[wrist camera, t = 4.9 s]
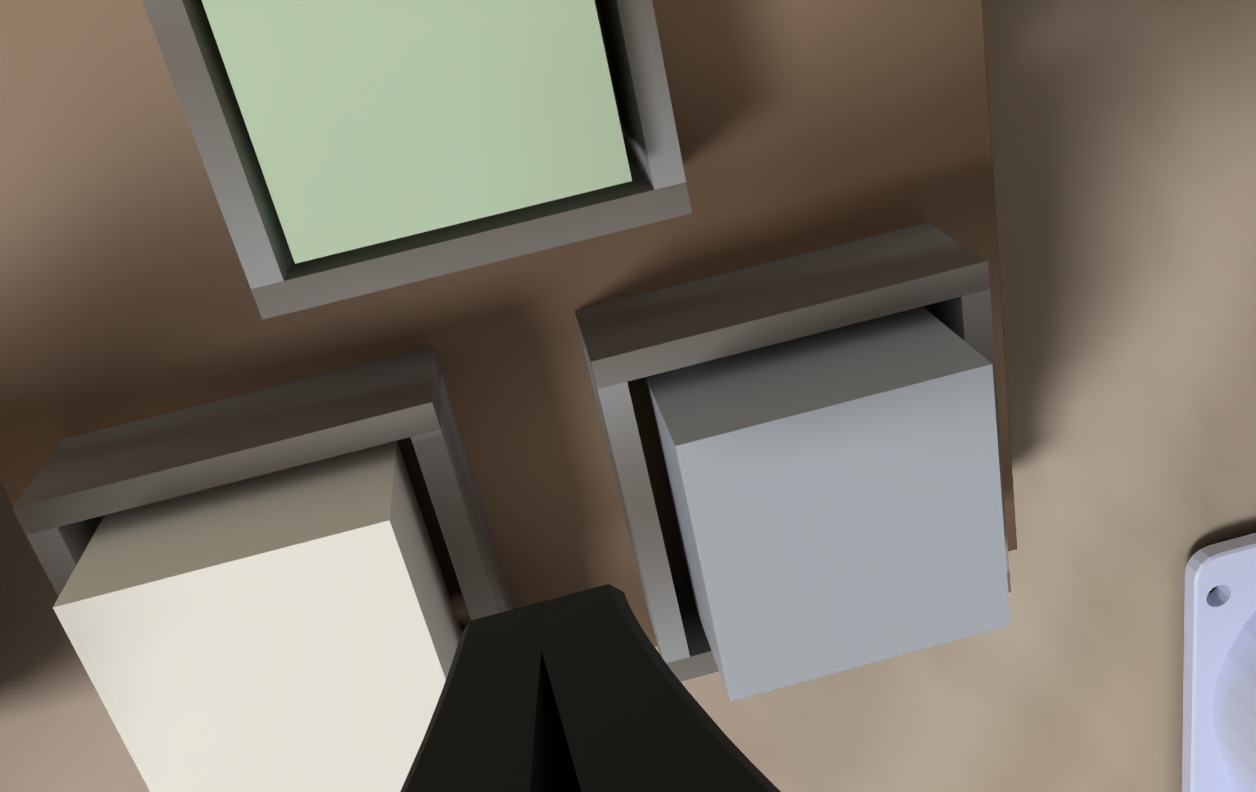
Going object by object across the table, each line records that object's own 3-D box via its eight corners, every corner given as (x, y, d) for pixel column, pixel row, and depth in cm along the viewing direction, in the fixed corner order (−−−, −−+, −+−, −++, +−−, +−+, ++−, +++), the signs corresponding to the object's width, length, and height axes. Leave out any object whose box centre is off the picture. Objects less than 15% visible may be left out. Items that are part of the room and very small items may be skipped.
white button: (473, 668, 17) (477, 770, 15) (213, 737, 16) (181, 852, 14) (396, 439, 15) (389, 520, 13) (105, 514, 15) (52, 607, 13)
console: (967, 493, 21) (1077, 615, 17) (183, 701, 20) (125, 876, 16) (892, -383, 15) (1036, -477, 11) (-228, -137, 14) (-461, -153, 10)
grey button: (944, 542, 17) (1010, 625, 15) (695, 607, 17) (730, 701, 15) (921, 305, 15) (991, 363, 13) (644, 375, 15) (675, 446, 13)
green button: (607, 145, 15) (632, 180, 13) (315, 215, 15) (295, 263, 13) (535, -184, 13) (552, -201, 11) (205, -109, 13) (161, -113, 11)
